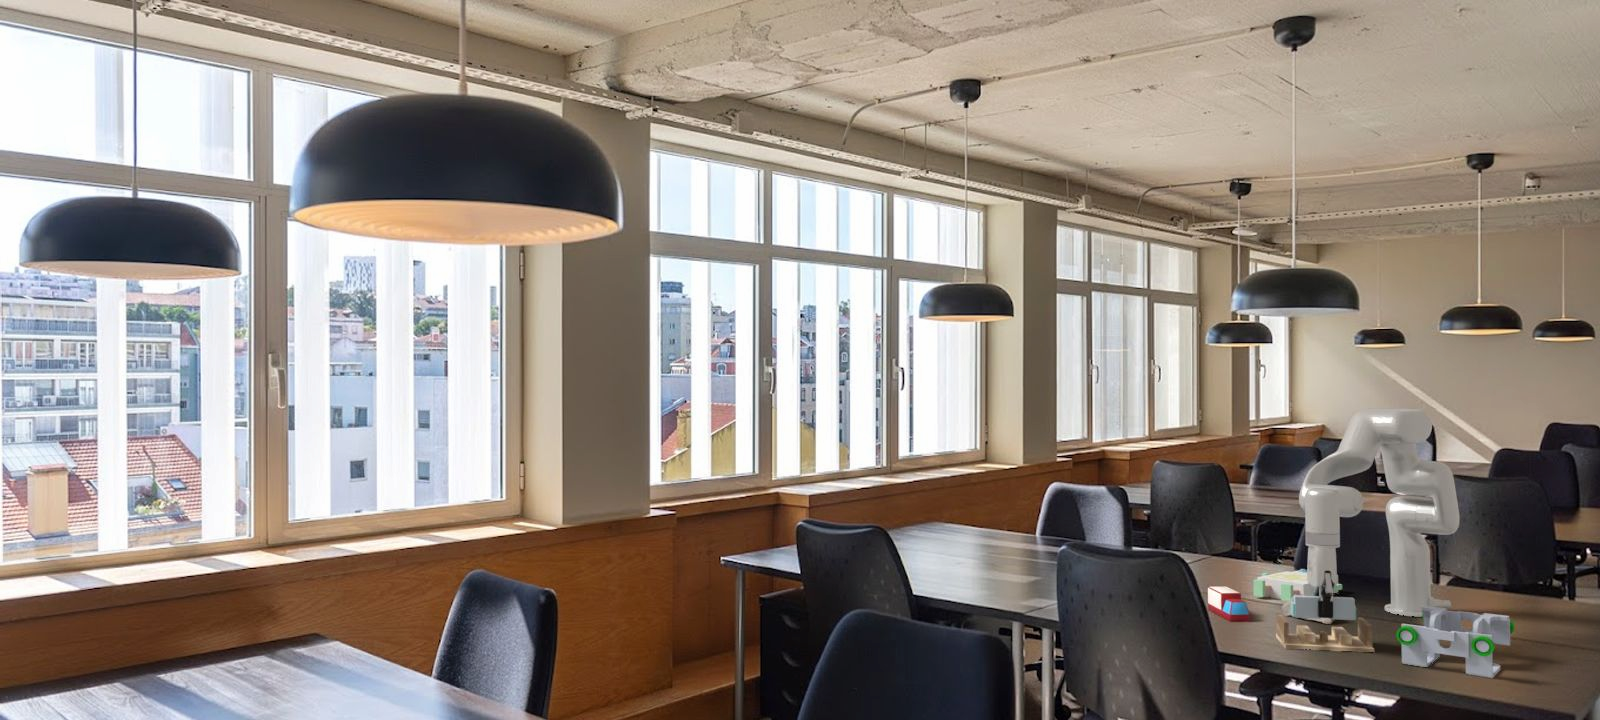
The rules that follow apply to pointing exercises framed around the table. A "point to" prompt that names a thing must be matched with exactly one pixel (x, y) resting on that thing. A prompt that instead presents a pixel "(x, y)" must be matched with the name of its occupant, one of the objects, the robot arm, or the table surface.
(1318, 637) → the cradle
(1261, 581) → the decorative block
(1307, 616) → the blocks in teal channel
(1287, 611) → the concrete fragment
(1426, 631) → the bracket
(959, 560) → the table surface
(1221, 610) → the toy truck
